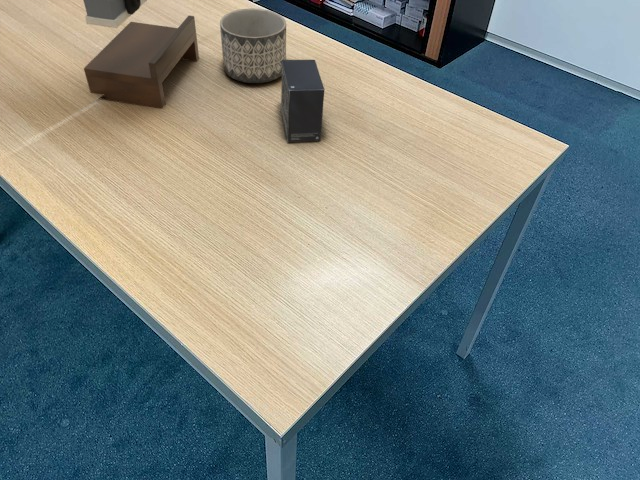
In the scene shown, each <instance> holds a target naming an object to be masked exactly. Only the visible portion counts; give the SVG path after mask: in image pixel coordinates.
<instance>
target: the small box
mask: <svg viewBox="0 0 640 480" xmlns="http://www.w3.org/2000/svg"><path fill="white" fill-rule="evenodd" d="M281 65H282V75H281V88H280V89H281V91H280V92H281V93H280V95H281V96H280V116H281V121H282V126H283V131H284V135H285V136H284V137H285V141H286V143H306V142H307V143H308V142H320V141H321V139H322V125H323V113H324V101H325V85H324V84H323V80H322V77H321V75H320V71H319V68H318V66H317V62H316V59H286V60H282V61H281Z"/></svg>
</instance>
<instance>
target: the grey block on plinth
mask: <svg viewBox="0 0 640 480" xmlns="http://www.w3.org/2000/svg"><path fill="white" fill-rule="evenodd" d="M140 1H141V4H140V7H142V6H143V5H144V4H145V3H146V2H147V1H148V0H140ZM83 4H84V8H85V12H86V15H85V16H84V18H85V22H86V24H87V25H93V26H98V27H105V28H112V29H118V28H119V27H120V26H122V24H123V23H124V22H126V20H128V19H129V18H130V17H131V16H132V15H131V14H128V13H127V9H126V4H125V0H83Z"/></svg>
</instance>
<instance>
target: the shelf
mask: <svg viewBox="0 0 640 480" xmlns="http://www.w3.org/2000/svg"><path fill="white" fill-rule="evenodd" d="M196 28H197V27H196V20H195V15H190V14H188V15H187V16H186V17H185V19H184V20H183V22H181V24H180V25H179V26H178V27H172V26H166V25H158V24H151V23H144V22H137V21H129V23H128V24H126V26H124V28H123V29H122V30H120V32H119V33H117V34H116V36H115V37H114V38H112V40H111V41H110V42H109V43H108V44H106V45H105V46H104V48H103V49H101V50H100V52H99V53H98V54H97V55H95V56H94V57H93V59H91V60H90V61H89V62H88V64H86V65H85V67H84V68H83V71H84V74H85V78H86V81H87V85H88V88H89V92H90V93H91V94H96V95H101V96H100V97H98V100H99V99H100V100H104V101H105V100H106V101H112V102H119V103H125V104H131V105H137V106H145V107H151V108H158V109H164V108H165V106H166V105H167V103H166V99H165V92H164V86H163V82H164V81H165V79H166V78H167V77H168V76H169V74H170V73H171V72H172V71H173V69H174V68H175V67H176V66H177V64H178V63H179V62H180V60H185V61H190V62H191V61H192V62H198V60H199V59H200V54H199V46H198V37H197V29H196Z"/></svg>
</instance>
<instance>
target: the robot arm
mask: <svg viewBox="0 0 640 480" xmlns="http://www.w3.org/2000/svg"><path fill="white" fill-rule="evenodd" d="M125 4H126V9H127V13H128V14H131V16H132V15H134V14H135V13H136V12H137V11H138V10H139V9H140V8H141V6H140V4H141V1H140V0H125Z"/></svg>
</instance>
